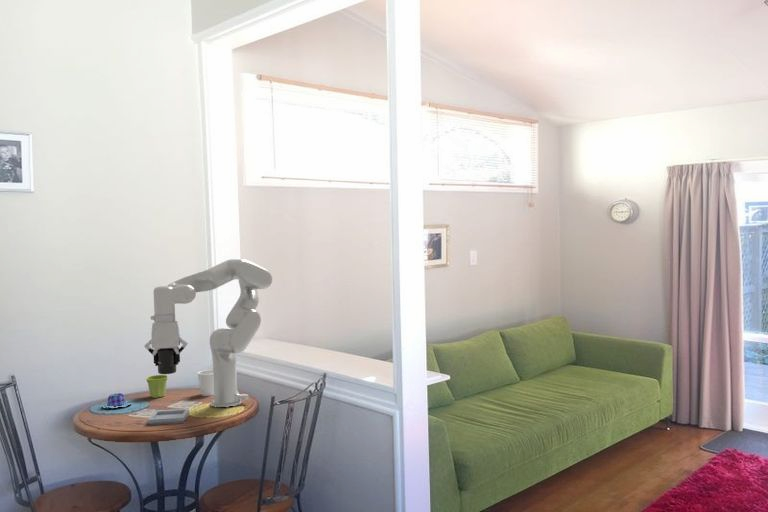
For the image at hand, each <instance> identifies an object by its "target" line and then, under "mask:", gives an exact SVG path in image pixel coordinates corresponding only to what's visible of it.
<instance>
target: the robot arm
mask: <svg viewBox="0 0 768 512" xmlns="http://www.w3.org/2000/svg"><path fill="white" fill-rule="evenodd" d="M234 280H238V283H239V290H240V295H239V297H238V298H237V300H236V302H235V303H234V305H233V307H232V308H231V310H230V311H229V312H228V314H227V316H226V318H225V324H226V326H227V328H223V327H222V328H217V329H215V330H214V331H212V332H211V334H210V336H209V348H210V351H211V356H212V358H211V359H212V370H213V383H214V395H213V400H212V401H210V403H209V404H210V407H212V406H216V407H226V408H230V407H229V406H233V407H236V406H239V405H241V404H242V400H249V394H246V393H240V392H239V391H238V381H237V380H238V377H237V376H238V375H237V374H238V373H237V359H236V355H235V354H240V353H243V352H244V351H245V350H246V349H247V347H248V346H249V344H250V343H251V342H252V340H253V339H254V337H255V335H256V333H257V332H258V330H259V329H260V326H261V322H262V319H261V314H260V313H259V312H258V311H257V310H256V309H257V307H258V305H259V302H260V298H259V292H258V290H265V289H266V290H267V289H268V288H269V287H270V286H271V284H272V283H273V276H272V274H271V272H270V271H269V270H268V269H266V268H264V267H262V266H260V265H258V264H256V263H254V262H252V261H250V260H247V259H244V258H243V259H242V258H241V259H238V258H236V259H235V258H234V259H233V258H231V259H227V260H225V261H223V262H221V263H218V264H216V265H214V266H211V267H210V268H208V269H205V270H203V271H199V272H197V273H193V274H191V275H188V276H187V275H186V276H183V278H179V279H178V280H176V281H173V282H171V283H169V284H167V285H165V286H161V285H160V286H156V287H154V289H153V307H154V308H153V309H154V313H153V315H152V316H150V320H153V321H154V322H153V323H151V324H152V325H151V334H150V335H151V337H150V338H151V339H149V341H148V342H146V344H144V348H145V349H146V350H147V351H148V352H149V353H150V354H151V355H152V356H153V364H155V367H158V360H157V351H158V350H159V349H169V348H173V349H174V350H175V352H176V354H175V365H176V366H177V365H179V363H180V361H181V356H180V355H181V352H183V351H184V349H185V348H187V345H189V344H188V342H187V341H186V340H185V339H183V337H181V335H180V328H179V327H180V326H179V323H178V321H177V320H176V306H175V305H176V304H179V305H181V304H182V305H186V304H190V303H192V302H193V301H194V300H195V299H196V297H197V293H200V292H201V293H202V292H209V291H214V290H216V289H218V288H219V287H221V286H224V285H225V284H228V283H229V282H232V281H234ZM180 344H182V346H181V347H180V348H179V346H180ZM216 407H215V408H216Z"/></svg>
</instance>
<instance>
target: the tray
mask: <svg viewBox="0 0 768 512" xmlns="http://www.w3.org/2000/svg"><path fill="white" fill-rule="evenodd" d="M189 415H190V409H189V408H181V409H163V410H155V411H154V412H153V413H152V414H151V415H150V417H148V419H147V425H148V426H157V425H170V424H172V425H173V424H184V423H185V421H186V420H187V419H188V416H189Z"/></svg>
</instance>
